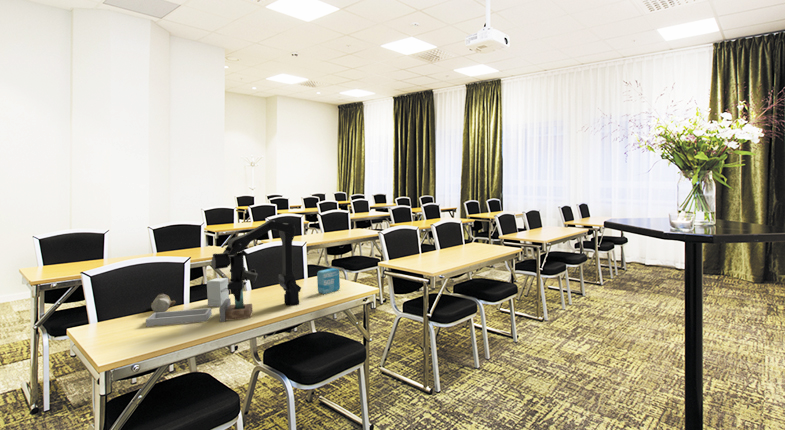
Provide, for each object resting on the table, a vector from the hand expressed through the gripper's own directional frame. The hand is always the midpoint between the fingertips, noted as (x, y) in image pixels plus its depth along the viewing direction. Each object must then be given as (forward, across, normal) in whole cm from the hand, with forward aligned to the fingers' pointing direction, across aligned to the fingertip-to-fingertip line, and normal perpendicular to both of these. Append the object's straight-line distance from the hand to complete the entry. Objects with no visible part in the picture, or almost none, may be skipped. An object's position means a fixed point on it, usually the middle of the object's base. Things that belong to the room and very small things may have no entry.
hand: (239, 300), depth 189 cm
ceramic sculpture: (+7, +21, +38) cm, 44 cm away
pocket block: (+7, -1, 0) cm, 7 cm away
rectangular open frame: (+7, 0, +25) cm, 26 cm away
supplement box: (+7, +22, +13) cm, 26 cm away
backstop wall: (+7, 0, +6) cm, 9 cm away
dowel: (+4, 0, 0) cm, 4 cm away
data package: (+7, +30, -42) cm, 52 cm away
